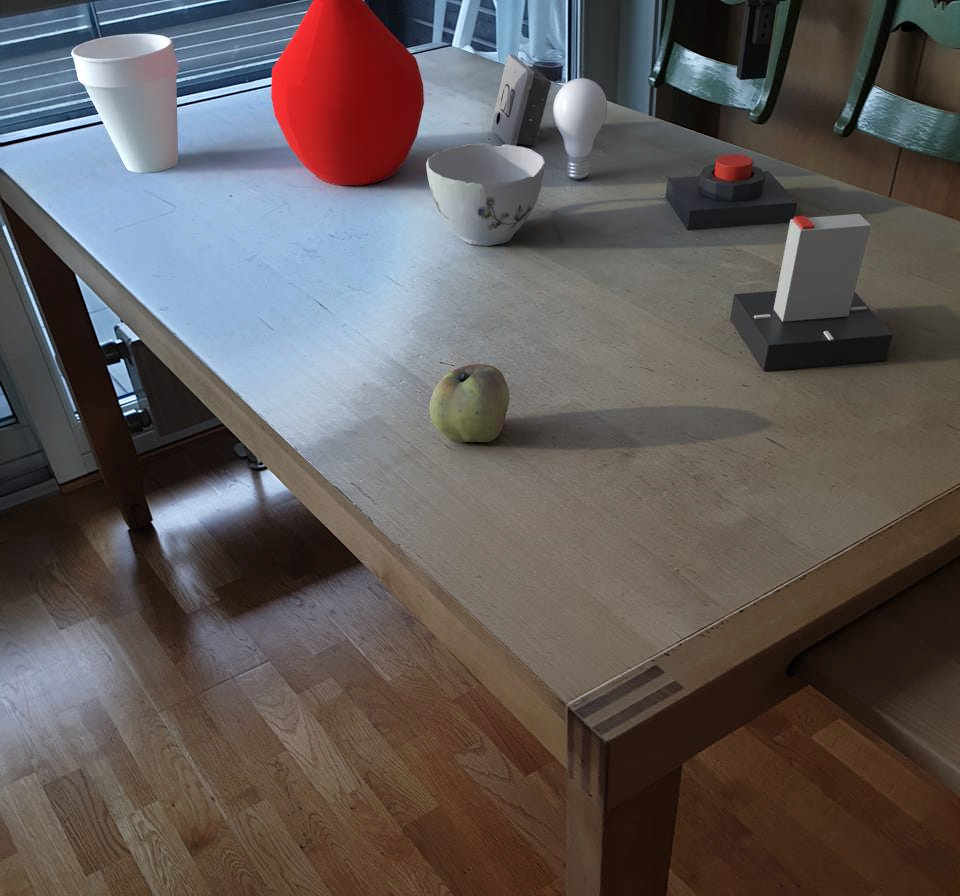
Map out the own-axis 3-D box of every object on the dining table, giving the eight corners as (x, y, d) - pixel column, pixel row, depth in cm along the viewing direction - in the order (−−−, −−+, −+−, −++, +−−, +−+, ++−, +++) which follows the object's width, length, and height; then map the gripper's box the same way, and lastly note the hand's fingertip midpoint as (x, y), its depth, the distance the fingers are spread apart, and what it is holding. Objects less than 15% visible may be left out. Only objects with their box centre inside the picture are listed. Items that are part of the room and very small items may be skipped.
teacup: (556, 252, 103) (557, 174, 98) (441, 265, 102) (436, 186, 96) (524, 201, 114) (524, 128, 108) (420, 213, 112) (414, 139, 107)
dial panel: (842, 309, 92) (849, 282, 90) (886, 361, 84) (894, 333, 83) (729, 318, 91) (733, 291, 89) (763, 372, 84) (768, 344, 82)
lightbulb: (541, 181, 118) (542, 81, 110) (572, 166, 122) (575, 68, 114) (582, 192, 115) (587, 90, 107) (613, 177, 118) (619, 76, 111)
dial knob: (838, 304, 87) (860, 210, 81) (848, 316, 85) (871, 222, 79) (773, 309, 87) (790, 215, 81) (782, 322, 85) (801, 227, 79)
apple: (538, 446, 77) (538, 379, 73) (440, 463, 76) (435, 396, 71) (517, 408, 81) (516, 343, 77) (424, 423, 80) (418, 358, 76)
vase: (275, 158, 127) (227, -128, 106) (410, 141, 131) (388, -141, 110) (296, 208, 115) (245, -107, 94) (444, 187, 118) (427, -121, 97)
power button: (744, 169, 109) (746, 152, 108) (755, 181, 106) (758, 165, 105) (709, 171, 109) (711, 155, 107) (719, 184, 106) (722, 167, 105)
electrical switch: (490, 130, 133) (495, 53, 126) (525, 129, 134) (532, 53, 128) (509, 152, 126) (515, 72, 120) (546, 151, 128) (554, 72, 121)
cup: (177, 181, 122) (148, 60, 113) (88, 179, 124) (51, 59, 115) (212, 149, 131) (188, 33, 121) (128, 147, 133) (98, 32, 123)
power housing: (765, 190, 114) (771, 154, 111) (793, 222, 107) (800, 185, 104) (665, 197, 113) (668, 161, 110) (687, 231, 106) (691, 193, 103)
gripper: (864, -227, 79) (808, 92, 96) (808, -233, 89) (766, 58, 105) (775, -221, 79) (734, 97, 95) (728, -228, 88) (698, 63, 105)
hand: (750, 77), depth 100 cm, fingers closed
